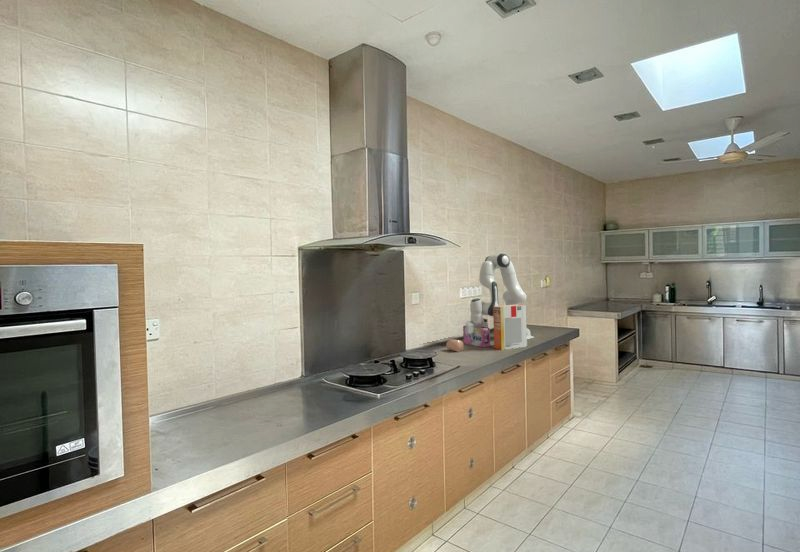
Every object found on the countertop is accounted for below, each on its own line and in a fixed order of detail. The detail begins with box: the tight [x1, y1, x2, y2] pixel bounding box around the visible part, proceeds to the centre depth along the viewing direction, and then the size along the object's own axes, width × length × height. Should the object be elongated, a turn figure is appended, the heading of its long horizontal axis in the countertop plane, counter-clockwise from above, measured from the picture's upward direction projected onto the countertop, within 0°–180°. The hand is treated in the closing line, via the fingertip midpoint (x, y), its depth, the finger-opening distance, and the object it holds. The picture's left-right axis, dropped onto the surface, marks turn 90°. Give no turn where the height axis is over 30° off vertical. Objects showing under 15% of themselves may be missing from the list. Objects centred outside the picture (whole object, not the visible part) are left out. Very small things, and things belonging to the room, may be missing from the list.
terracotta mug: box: [446, 338, 465, 353], centre depth 302 cm, size 10×8×9 cm
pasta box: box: [492, 304, 528, 351], centre depth 307 cm, size 23×8×30 cm, turn 116°
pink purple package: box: [462, 325, 491, 348], centre depth 322 cm, size 24×8×14 cm, turn 29°
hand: (477, 338), depth 322 cm, fingers closed on pink purple package, 8 cm apart
